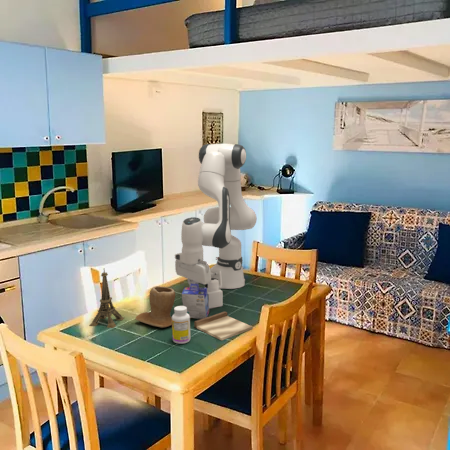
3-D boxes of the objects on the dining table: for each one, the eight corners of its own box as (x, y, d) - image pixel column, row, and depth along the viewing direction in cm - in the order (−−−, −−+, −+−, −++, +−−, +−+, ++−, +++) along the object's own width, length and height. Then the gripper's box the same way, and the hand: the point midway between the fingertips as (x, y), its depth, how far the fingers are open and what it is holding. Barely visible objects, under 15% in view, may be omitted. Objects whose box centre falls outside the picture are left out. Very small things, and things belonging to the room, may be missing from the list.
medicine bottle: (201, 303, 224) (200, 278, 221) (215, 301, 227) (215, 275, 225) (208, 309, 218) (207, 282, 215) (222, 306, 221) (222, 280, 218)
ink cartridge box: (209, 311, 211) (207, 282, 204) (207, 319, 206) (204, 290, 199) (187, 309, 213) (183, 281, 206) (184, 318, 208) (180, 289, 201)
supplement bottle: (177, 335, 191) (176, 303, 188) (193, 338, 188) (192, 305, 186) (169, 342, 184) (168, 309, 182) (185, 345, 182) (184, 312, 180)
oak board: (194, 327, 198) (194, 321, 198) (224, 317, 208) (224, 311, 208) (221, 340, 186) (221, 334, 185) (252, 328, 196) (252, 322, 196)
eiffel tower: (113, 328, 198) (109, 267, 193) (89, 326, 201) (85, 266, 196) (124, 318, 208) (121, 260, 204) (101, 316, 211) (97, 259, 206)
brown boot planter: (182, 322, 204) (181, 287, 201) (162, 332, 194) (161, 295, 191) (154, 314, 212) (153, 280, 209) (134, 323, 203) (132, 288, 200)
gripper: (214, 261, 200) (215, 293, 203) (184, 251, 216) (185, 282, 218) (202, 263, 196) (202, 297, 199) (172, 254, 212) (173, 285, 214)
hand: (193, 289), depth 209 cm, fingers closed
